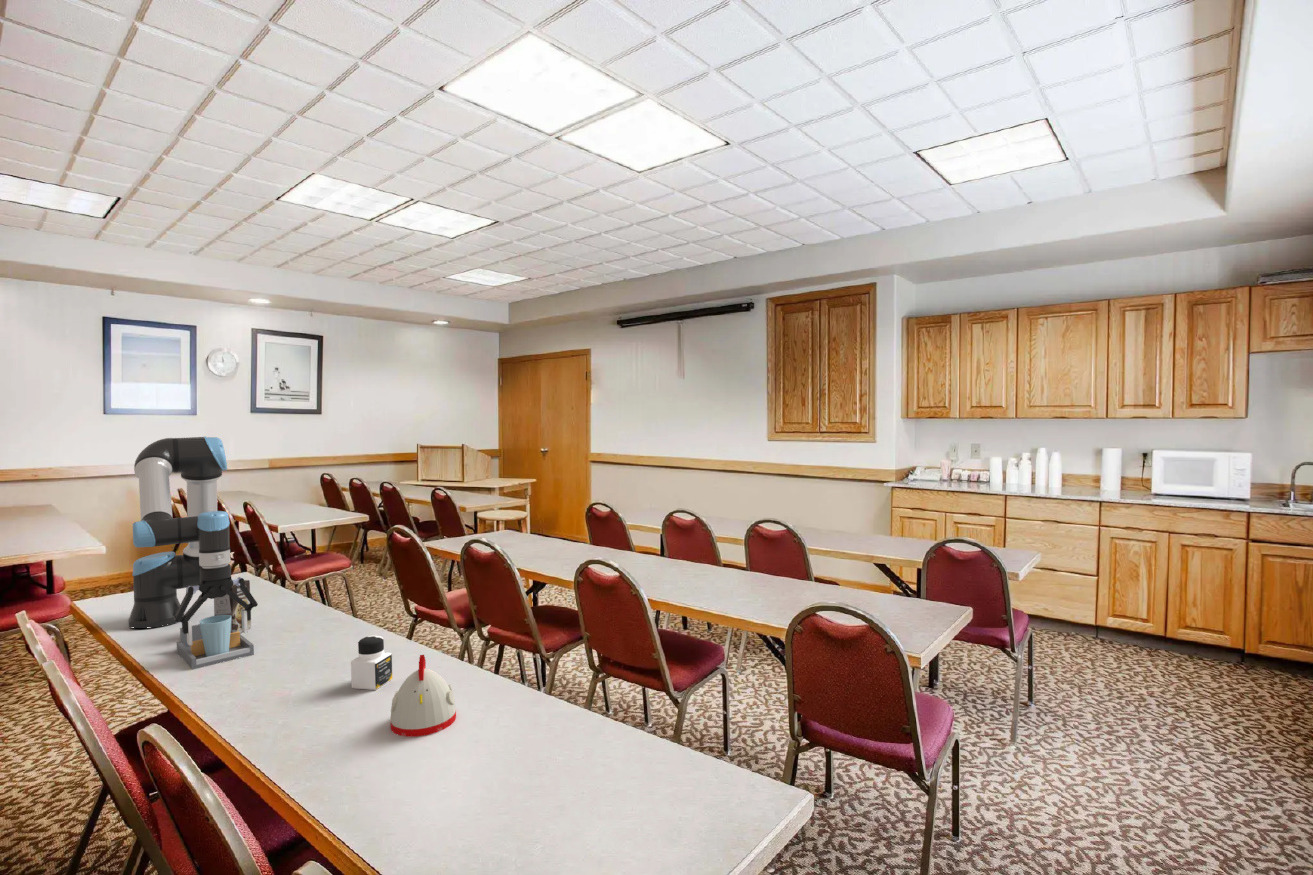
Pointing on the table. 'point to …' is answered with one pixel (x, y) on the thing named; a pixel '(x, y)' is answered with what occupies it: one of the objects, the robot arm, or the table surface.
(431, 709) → the kitchen timer
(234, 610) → the coffee box
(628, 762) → the table surface
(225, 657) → the grey open rectangular box
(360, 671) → the medicine bottle
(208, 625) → the cup
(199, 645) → the pusher
